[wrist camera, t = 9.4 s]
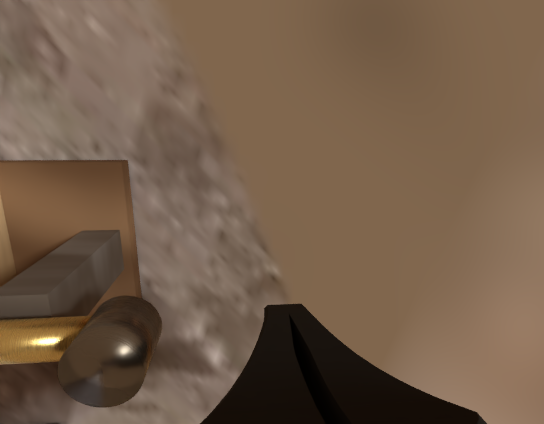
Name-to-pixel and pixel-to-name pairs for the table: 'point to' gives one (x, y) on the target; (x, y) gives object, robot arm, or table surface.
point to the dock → (65, 237)
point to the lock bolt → (90, 348)
